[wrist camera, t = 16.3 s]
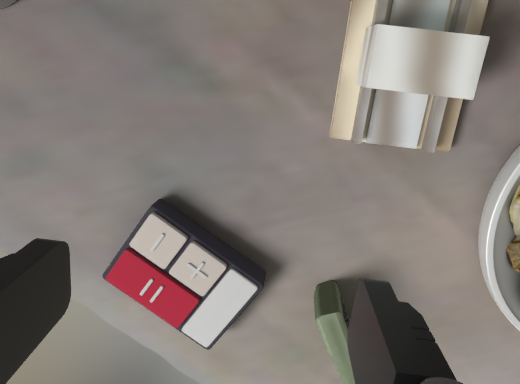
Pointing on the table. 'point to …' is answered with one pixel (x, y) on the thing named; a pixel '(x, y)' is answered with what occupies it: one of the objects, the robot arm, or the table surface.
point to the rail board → (408, 71)
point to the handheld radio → (334, 327)
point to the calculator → (184, 274)
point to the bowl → (503, 239)
